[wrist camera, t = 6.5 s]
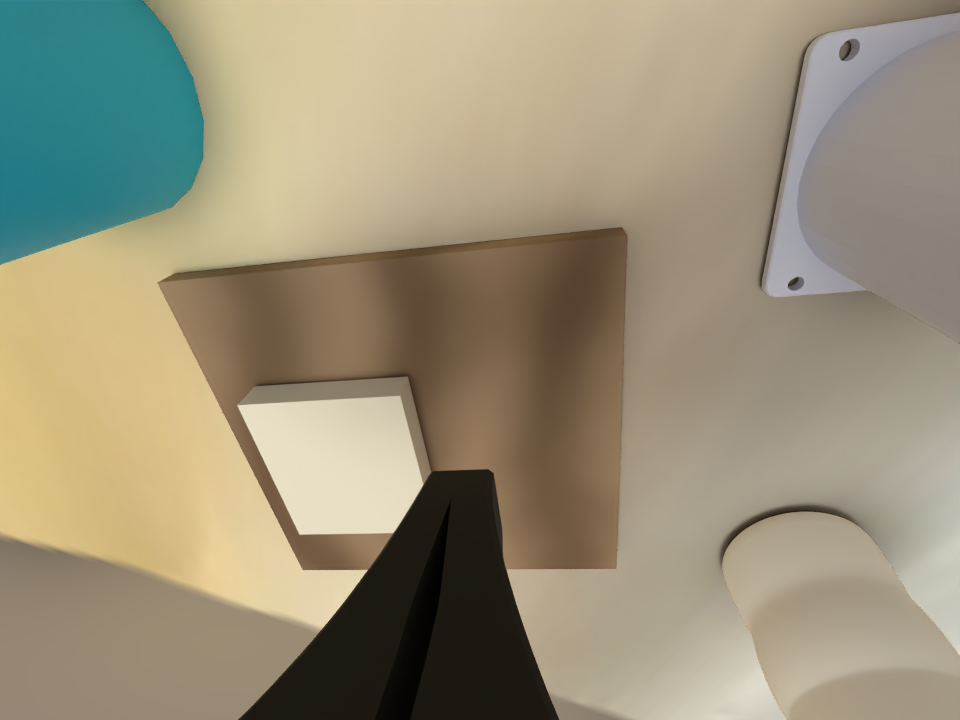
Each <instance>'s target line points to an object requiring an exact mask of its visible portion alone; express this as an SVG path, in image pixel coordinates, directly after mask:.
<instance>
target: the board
mask: <svg viewBox="0 0 960 720" xmlns="http://www.w3.org/2000/svg"><path fill="white" fill-rule="evenodd" d="M626 258H627V234H626V233H625V231H624V230H623V228H612V229H602V230H593V231H583V232H573V233H564V234H554V235H544V236H535V237H525V238H515V239H506V240H496V241H487V242H477V243H467V244H458V245H448V246H438V247H429V248H419V249H409V250H400V251H390V252H381V253H371V254H361V255H352V256H342V257H332V258H323V259H313V260H303V261H294V262H284V263H274V264H265V265H255V266H246V267H236V268H226V269H217V270H207V271H197V272H188V273H178V274H173V275H171V276H169V277H167V278H165V279H163V280H162V281H160V282H158V285H159V287H160V289H161V291H162V293H163V295H164V297H165V299H166V301H167V303H168V305H169V307H170V308H171V310H172V312H173V314H174V316H175V318H176V320H177V322H178V324H179V326H180V328H181V330H182V332H183V334H184V336H185V338H186V340H187V342H188V344H189V346H190V348H191V350H192V352H193V354H194V356H195V358H196V360H197V362H198V364H199V366H200V368H201V370H202V372H203V374H204V376H205V378H206V380H207V382H208V384H209V386H210V388H211V389H212V391H213V393H214V395H215V397H216V399H217V401H218V403H219V405H220V407H221V409H222V411H223V413H224V415H225V417H226V419H227V421H228V423H229V425H230V427H231V429H232V431H233V433H234V435H235V437H236V439H237V441H238V443H239V445H240V447H241V449H242V451H243V453H244V455H245V457H246V459H247V461H248V463H249V465H250V467H251V469H252V470H253V472H254V474H255V476H256V478H257V480H258V482H259V484H260V486H261V488H262V490H263V492H264V494H265V496H266V498H267V500H268V502H269V504H270V506H271V508H272V510H273V512H274V514H275V516H276V518H277V520H278V522H279V524H280V526H281V528H282V530H283V532H284V534H285V536H286V538H287V540H288V542H289V544H290V546H291V548H292V550H293V551H294V553H295V555H296V557H297V559H298V561H299V563H300V565H301V567H302V569H303V570H368V569H369V568H370V567H371V565H372V564H373V563H374V561H375V560H376V558H377V557H378V555H379V554H380V553H381V551H382V550H383V548H384V547H385V545H386V544H387V542H388V541H389V539H390V538H391V536H392V535H393V533H372V534H307V535H299V532H298V530H297V528H296V526H295V524H294V522H293V520H292V518H291V516H290V514H289V512H288V510H287V508H286V506H285V503H284V501H283V499H282V497H281V495H280V493H279V491H278V489H277V487H276V485H275V483H274V481H273V479H272V477H271V474H270V472H269V470H268V468H267V466H266V464H265V462H264V460H263V458H262V456H261V454H260V452H259V450H258V448H257V445H256V443H255V441H254V439H253V437H252V435H251V433H250V431H249V429H248V427H247V425H246V423H245V421H244V418H243V416H242V414H241V412H240V410H239V408H238V406H237V405H238V404H239V403H240V402H241V400H242V399H243V398H244V397H245V396H246V395H247V394H248V393H249V392H250V391H251V389H252V388H253V387H254V386H268V385H284V384H300V383H315V382H331V381H346V380H362V379H378V378H393V377H408V379H409V383H410V387H411V391H412V395H413V399H414V403H415V407H416V412H417V416H418V420H419V424H420V428H421V432H422V436H423V440H424V444H425V448H426V452H427V457H428V461H429V465H430V469H431V473H432V472H433V471H448V470H477V469H489V470H490V471H491V472H493V473H494V478H495V485H496V491H497V498H498V504H499V511H500V517H501V524H502V533H503V559H504V563H505V567H506V569H616V567H617V536H618V505H619V475H620V444H621V413H622V382H623V351H624V320H625V289H626Z"/></svg>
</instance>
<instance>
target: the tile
mask: <svg viewBox="0 0 960 720" xmlns="http://www.w3.org/2000/svg"><path fill="white" fill-rule="evenodd" d="M237 406H238V408H239V410H240V412H241V414H242V416H243V418H244V421H245V423H246V425H247V427H248V429H249V431H250V433H251V435H252V437H253V439H254V441H255V443H256V445H257V448H258V450H259V452H260V454H261V456H262V458H263V460H264V462H265V464H266V466H267V468H268V470H269V472H270V474H271V477H272V479H273V481H274V483H275V485H276V487H277V489H278V491H279V493H280V495H281V497H282V499H283V501H284V503H285V506H286V508H287V510H288V512H289V514H290V516H291V518H292V520H293V522H294V524H295V526H296V528H297V530H298V532H299V535H307V534H372V533H394V532H395V530H396V529H397V527H398V526H399V524H400V522H401V521H402V519H403V518H404V516H405V515H406V513H407V511H408V510H409V508H410V506H411V505H412V503H413V502H414V500H415V498H416V497H417V495H418V493H419V491H420V490H421V488H422V486H423V485H424V483H425V481H426V479H427V478H428V476H429V475H430V474H431V469H430V465H429V461H428V457H427V452H426V448H425V444H424V440H423V436H422V432H421V428H420V424H419V420H418V416H417V412H416V407H415V403H414V399H413V395H412V391H411V387H410V383H409V379H408V377H393V378H378V379H362V380H346V381H331V382H315V383H300V384H284V385H268V386H254V387H253V388H252V389H251V391H250V392H249V393H248V394H247V395H246V396H245V397H244V398H243V399H242V400H241V402H240V403H239V404H238V405H237Z"/></svg>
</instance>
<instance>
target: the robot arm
mask: <svg viewBox="0 0 960 720" xmlns="http://www.w3.org/2000/svg"><path fill="white" fill-rule="evenodd" d="M846 41H849V42H850V43H851V52H850V54H849V56H848V57H847V58H846V59H845V60H843V61H842V60H841V59H840V58H839V51H840V48H841V46H842V45H843V44H844V43H845V42H846ZM795 277H798V281H797V283H796V284H795V285H793V286H790V287H788V283H789V281H790V280H792V279H793V278H795ZM762 289H763V290H764V292H765V293H767V294H768V295H769V296H771V297H777V298H778V297H790V296H803V295H816V294H828V293H841V292H853V291H866V290H869V291H871V292H873V293H874V294H876V295H878V296H879V297H881V298H883V299H884V300H886V301H888V302H890V303H891V304H893V305H895V306H896V307H898V308H900V309H902V310H903V311H905V312H907V313H908V314H910V315H912V316H913V317H915V318H917V319H919V320H920V321H922V322H924V323H925V324H927V325H929V326H931V327H932V328H934V329H936V330H937V331H939V332H941V333H942V334H944V335H946V336H948V337H949V338H951V339H953V340H954V341H956V342H958V343H960V13H954V14H947V15H941V16H934V17H927V18H921V19H914V20H908V21H901V22H895V23H888V24H881V25H875V26H868V27H862V28H855V29H848V30H842V31H835V32H829V33H826V34H823V35H820V36H819V37H817V38H816V39H815V40H814V41H812V43H811V44H810V46H809V47H808V48H807V51H806V54H805V56H804V62H803V67H802V72H801V77H800V83H799V88H798V93H797V99H796V104H795V109H794V115H793V120H792V125H791V130H790V136H789V141H788V146H787V152H786V157H785V162H784V168H783V173H782V178H781V183H780V189H779V194H778V199H777V205H776V210H775V215H774V220H773V226H772V231H771V236H770V242H769V247H768V252H767V258H766V263H765V268H764V273H763V279H762ZM238 720H559V718H558V716H557V713H556V711H555V708H554V706H553V704H552V701H551V699H550V696H549V694H548V691H547V689H546V686H545V684H544V681H543V678H542V676H541V673H540V670H539V668H538V665H537V663H536V660H535V657H534V655H533V652H532V649H531V646H530V643H529V640H528V638H527V635H526V632H525V629H524V626H523V623H522V620H521V617H520V614H519V611H518V608H517V605H516V602H515V598H514V595H513V591H512V588H511V585H510V581H509V578H508V574H507V570H506V567H505V563H504V559H503V533H502V524H501V517H500V511H499V504H498V498H497V491H496V485H495V478H494V473H493V472H491V471H490V470H489V469H477V470H448V471H433V472H432V473H431V474H430V475H429V476H428V478H427V479H426V481H425V483H424V485H423V486H422V488H421V490H420V491H419V493H418V495H417V497H416V498H415V500H414V502H413V503H412V505H411V506H410V508H409V510H408V511H407V513H406V515H405V516H404V518H403V519H402V521H401V522H400V524H399V526H398V527H397V529H396V530H395V532H394V533H393V535H392V536H391V538H390V539H389V541H388V542H387V544H386V545H385V547H384V548H383V550H382V551H381V553H380V554H379V555H378V557H377V558H376V560H375V561H374V563H373V564H372V565H371V567H370V568H369V569H368V571H367V572H366V573H365V575H364V576H363V578H362V579H361V580H360V582H359V583H358V584H357V586H356V587H355V588H354V590H353V591H352V592H351V594H350V595H349V596H348V598H347V599H346V600H345V602H344V603H343V604H342V605H341V607H340V608H339V609H338V610H337V612H336V613H335V614H334V615H333V617H332V618H331V619H330V620H329V622H328V623H327V624H326V625H325V626H324V628H323V629H322V630H321V631H320V632H319V633H318V635H317V636H316V637H315V638H314V639H313V641H312V642H311V643H310V644H309V645H308V646H307V647H306V649H305V650H304V651H303V652H302V653H301V654H300V655H299V656H298V658H297V659H296V660H295V661H294V662H293V663H292V664H291V665H290V666H289V667H288V668H287V670H286V671H285V672H284V673H283V674H282V675H281V676H280V677H279V678H278V679H277V681H276V682H275V683H274V684H273V685H272V686H271V687H270V688H269V689H268V690H267V691H266V692H265V693H264V694H263V695H262V696H261V698H259V699H258V701H257V702H256V703H255V704H254V705H253V706H252V707H251V708H250V709H249V710H248V711H247V712H246V713H245V714H244V715H243V716H242V717H241V718H239V719H238Z"/></svg>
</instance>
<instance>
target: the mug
mask: <svg viewBox="0 0 960 720" xmlns="http://www.w3.org/2000/svg"><path fill="white" fill-rule="evenodd" d="M203 125H204V120H203V116H202V112H201V108H200V105H199V101H198V97H197V93H196V89H195V85H194V81H193V77H192V75H191V73H190V71H189V70H188V68H187V66H186V64H185V62H184V60H183V58H182V56H181V54H180V52H179V50H178V48H177V46H176V44H175V42H174V40H173V39H172V37H171V35H170V33H169V31H168V30H167V29H166V28H165V27H164V25H163V24H162V23H161V22H160V21H159V19H158V18H157V17H156V16H155V14H154V13H153V12H152V11H151V10H150V8H149V7H148V6H147V5H146V4H145V2H144V1H143V0H0V265H1V264H4V263H7V262H10V261H13V260H16V259H19V258H22V257H25V256H28V255H31V254H34V253H37V252H40V251H43V250H46V249H49V248H51V247H54V246H57V245H60V244H63V243H66V242H69V241H72V240H75V239H78V238H81V237H84V236H87V235H90V234H93V233H96V232H99V231H102V230H105V229H108V228H111V227H114V226H117V225H120V224H123V223H126V222H129V221H132V220H135V219H138V218H141V217H144V216H147V215H150V214H153V213H156V212H159V211H162V210H164V209H167V208H170V207H172V206H173V205H174V204H175V203H176V202H177V201H178V200H179V199H180V198H181V197H182V196H183V195H184V194H185V193H186V192H187V191H188V190H189V189H190V188H191V187H192V185H193V182H194V180H195V177H196V175H197V172H198V169H199V167H200V164H201V162H202V159H203Z"/></svg>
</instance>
